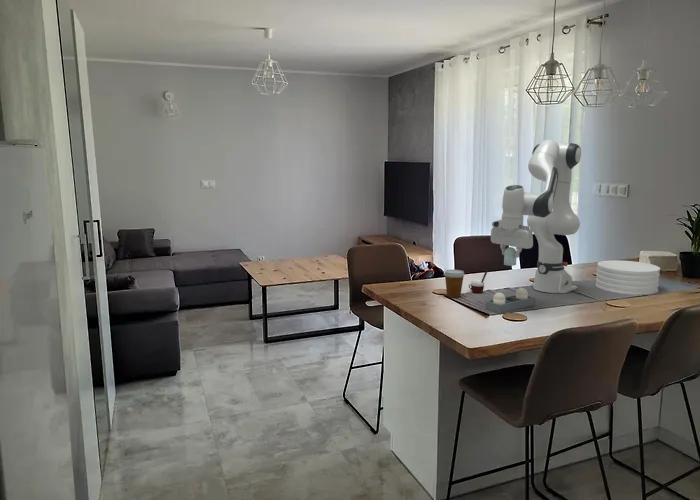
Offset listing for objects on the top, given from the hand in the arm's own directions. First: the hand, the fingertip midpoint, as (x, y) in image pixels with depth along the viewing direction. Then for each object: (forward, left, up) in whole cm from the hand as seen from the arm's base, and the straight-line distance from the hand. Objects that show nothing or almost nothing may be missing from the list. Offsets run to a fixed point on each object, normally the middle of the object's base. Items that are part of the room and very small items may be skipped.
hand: (510, 256), depth 231 cm
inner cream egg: (-7, +1, -22) cm, 23 cm away
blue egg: (0, 0, -4) cm, 4 cm away
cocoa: (-11, -28, -24) cm, 38 cm away
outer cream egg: (+7, +1, -22) cm, 23 cm away
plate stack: (-80, +7, -24) cm, 83 cm away
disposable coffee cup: (+4, -29, -24) cm, 38 cm away
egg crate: (0, +1, -23) cm, 23 cm away
